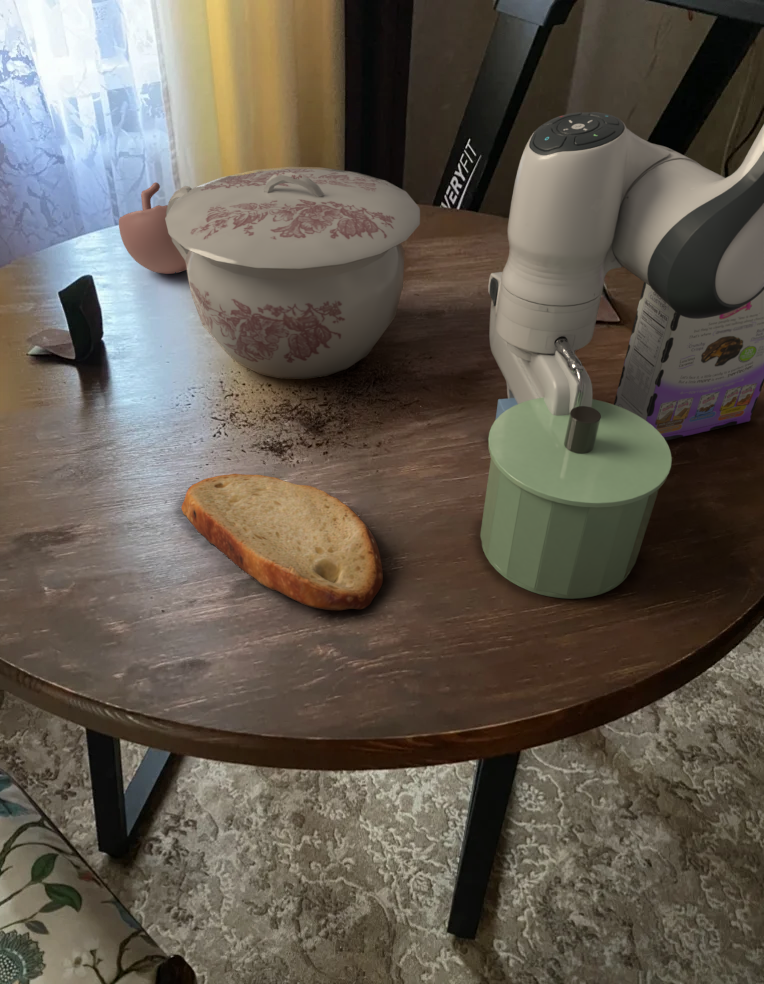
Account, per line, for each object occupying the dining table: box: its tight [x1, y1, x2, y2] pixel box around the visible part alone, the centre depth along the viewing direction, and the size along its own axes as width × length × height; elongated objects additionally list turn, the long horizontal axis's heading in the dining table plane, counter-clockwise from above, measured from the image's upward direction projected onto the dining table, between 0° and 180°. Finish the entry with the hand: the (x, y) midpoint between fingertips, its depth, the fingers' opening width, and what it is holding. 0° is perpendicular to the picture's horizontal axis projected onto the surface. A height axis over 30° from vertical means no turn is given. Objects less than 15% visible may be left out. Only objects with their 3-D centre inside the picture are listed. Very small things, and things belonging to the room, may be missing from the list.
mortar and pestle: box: [118, 182, 187, 275], centre depth 114 cm, size 12×12×11 cm
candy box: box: [613, 281, 764, 442], centre depth 84 cm, size 14×6×16 cm, turn 108°
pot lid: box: [487, 397, 673, 508], centre depth 68 cm, size 15×15×4 cm
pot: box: [479, 457, 660, 600], centre depth 72 cm, size 14×14×10 cm
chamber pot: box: [165, 166, 421, 380], centre depth 95 cm, size 28×27×21 cm
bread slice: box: [181, 473, 384, 611], centre depth 74 cm, size 18×18×4 cm
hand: (525, 438), depth 85 cm, fingers closed on block, 5 cm apart
